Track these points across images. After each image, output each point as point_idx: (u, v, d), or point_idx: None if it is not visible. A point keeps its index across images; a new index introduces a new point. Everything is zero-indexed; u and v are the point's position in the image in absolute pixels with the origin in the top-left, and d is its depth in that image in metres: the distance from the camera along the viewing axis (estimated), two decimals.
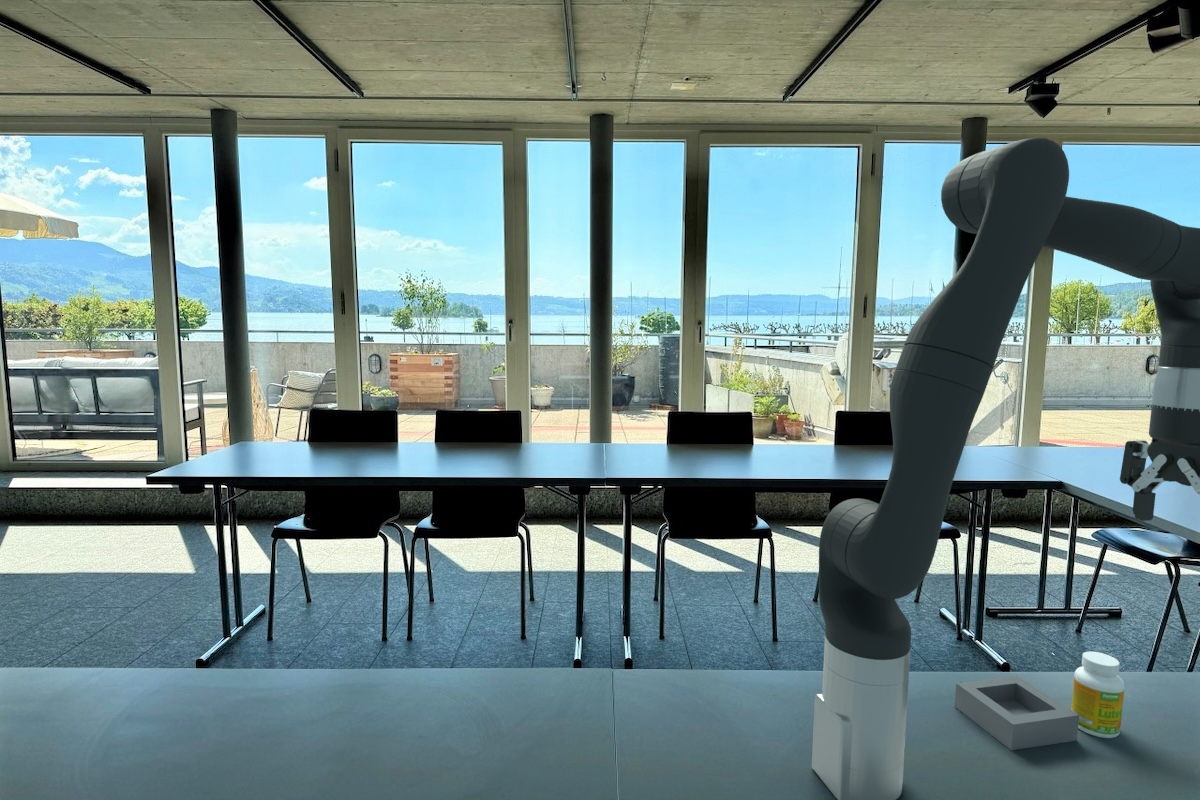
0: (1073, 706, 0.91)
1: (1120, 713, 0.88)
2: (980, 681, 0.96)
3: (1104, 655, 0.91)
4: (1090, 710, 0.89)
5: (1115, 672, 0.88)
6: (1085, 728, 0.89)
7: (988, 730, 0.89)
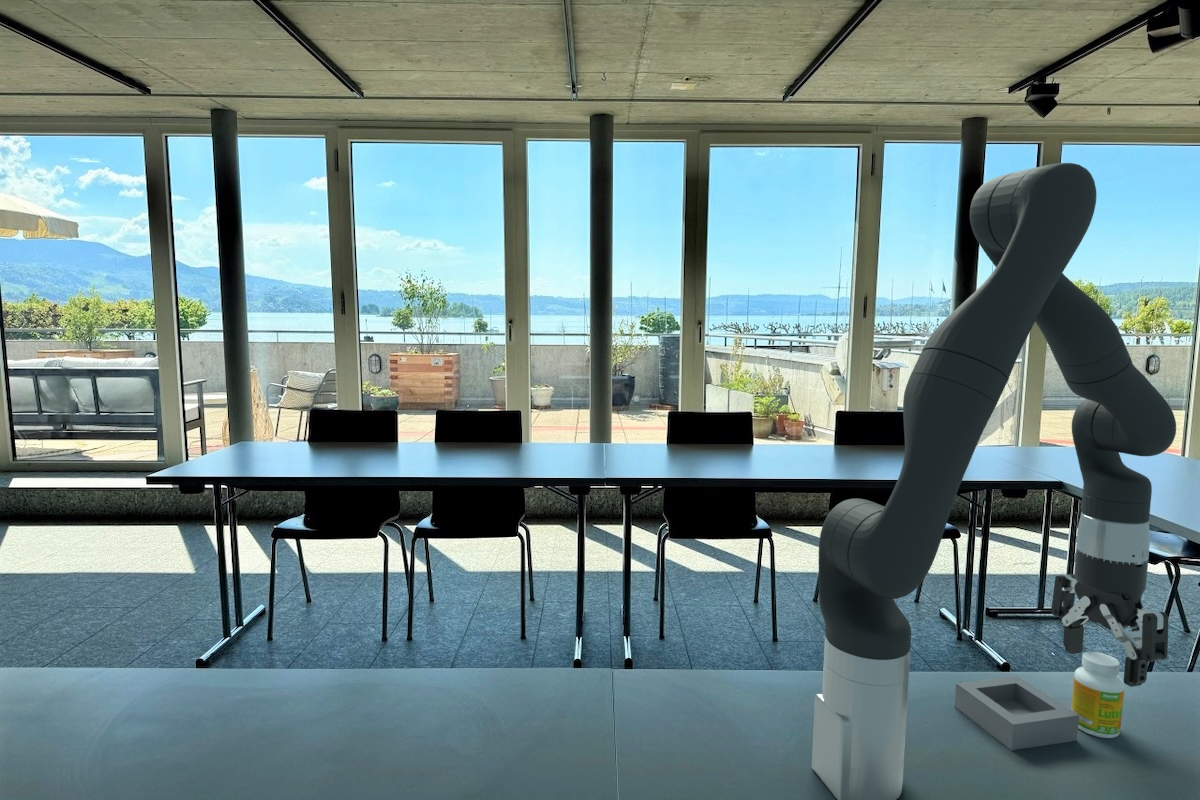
0: (1073, 706, 0.91)
1: (1120, 713, 0.88)
2: (980, 681, 0.96)
3: (1104, 655, 0.91)
4: (1090, 710, 0.89)
5: (1115, 672, 0.88)
6: (1085, 728, 0.89)
7: (988, 730, 0.89)
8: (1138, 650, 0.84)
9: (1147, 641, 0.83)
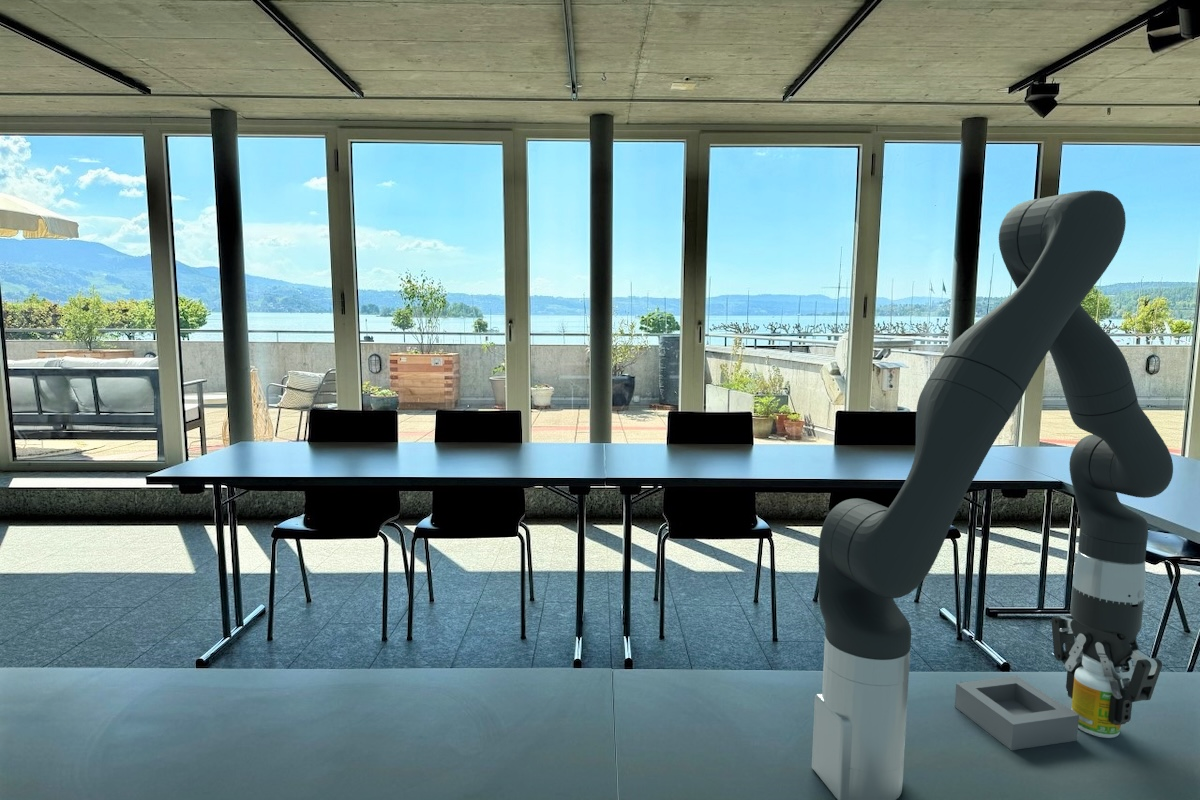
0: (1073, 706, 0.91)
1: None
2: (980, 681, 0.96)
3: None
4: (1090, 710, 0.89)
5: None
6: (1085, 728, 0.89)
7: (988, 730, 0.89)
8: (1122, 689, 0.86)
9: (1135, 684, 0.84)
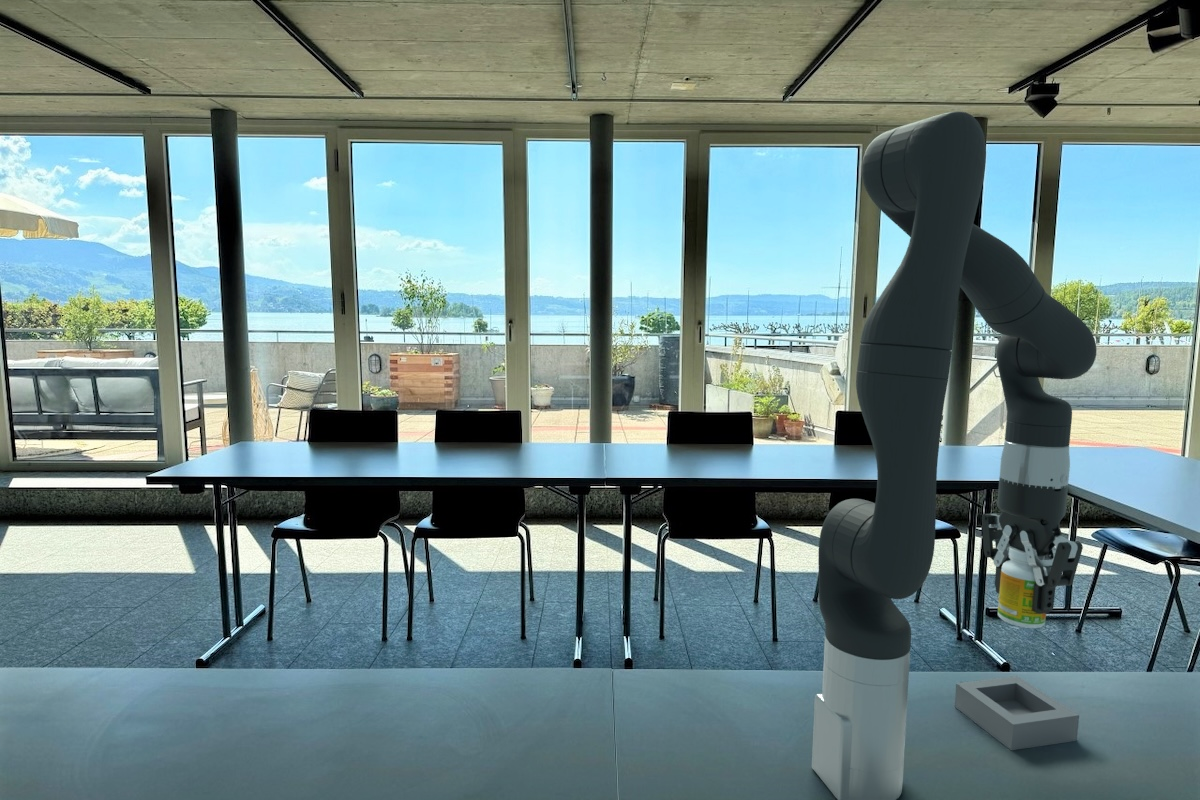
0: (999, 599, 0.90)
1: None
2: (980, 681, 0.96)
3: None
4: (1015, 601, 0.88)
5: None
6: (1010, 619, 0.88)
7: (988, 730, 0.89)
8: (1045, 576, 0.85)
9: (1056, 568, 0.83)
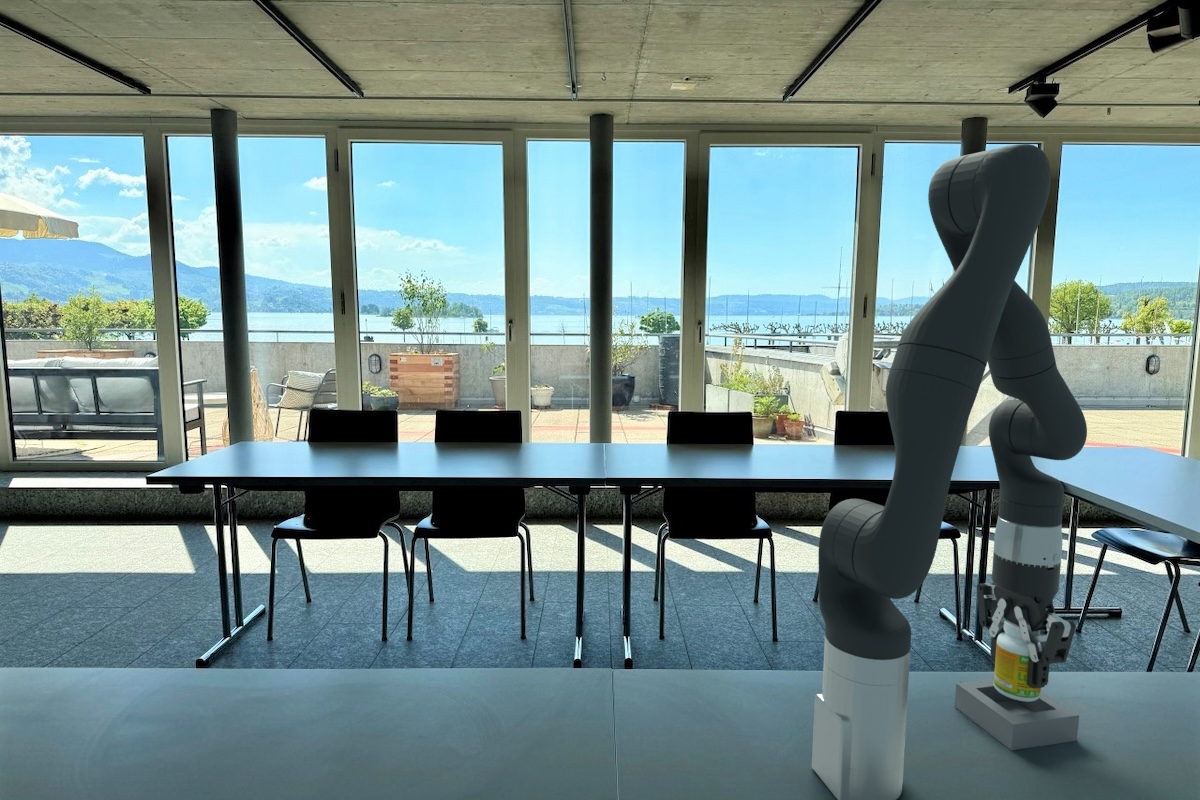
0: (995, 671, 0.92)
1: None
2: (980, 681, 0.96)
3: None
4: (1010, 674, 0.89)
5: None
6: (1006, 692, 0.90)
7: (988, 730, 0.89)
8: (1039, 653, 0.86)
9: (1050, 646, 0.84)
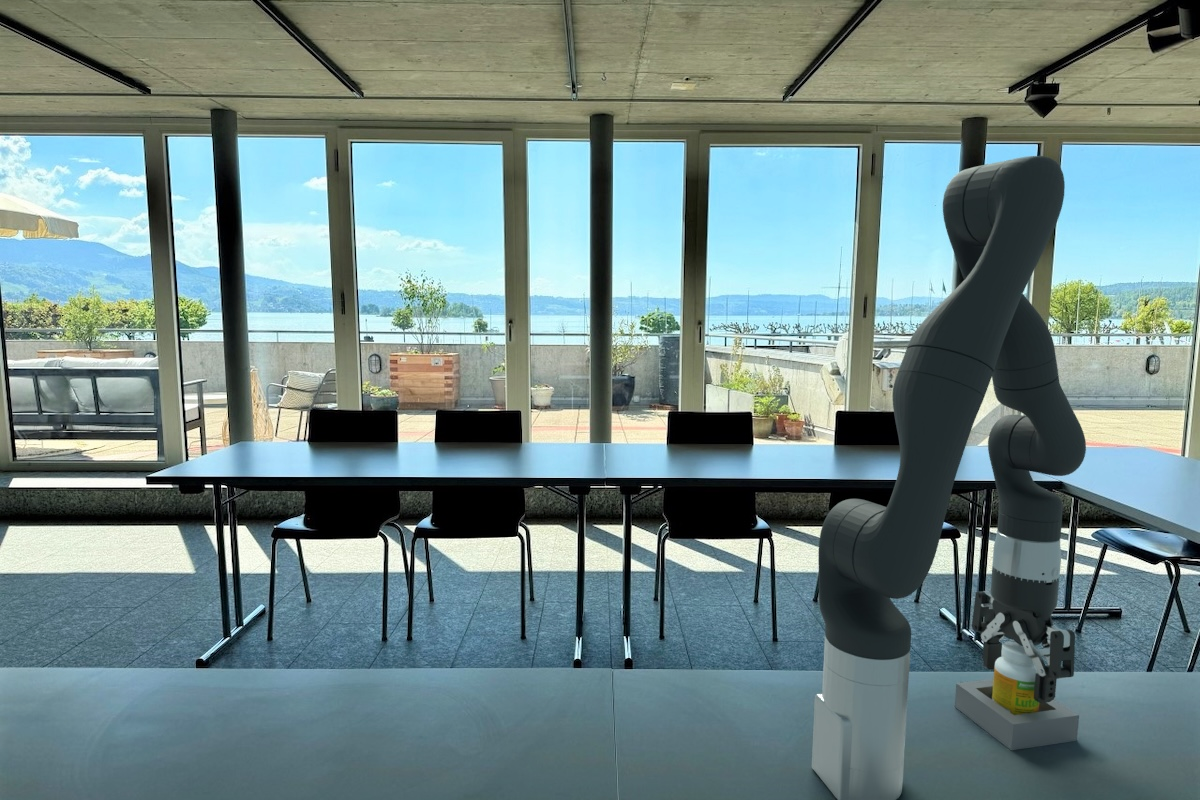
0: (993, 695, 0.92)
1: (1037, 702, 0.89)
2: (980, 681, 0.96)
3: None
4: (1008, 700, 0.89)
5: (1032, 661, 0.89)
6: None
7: (988, 730, 0.89)
8: (1046, 667, 0.85)
9: (1054, 658, 0.84)
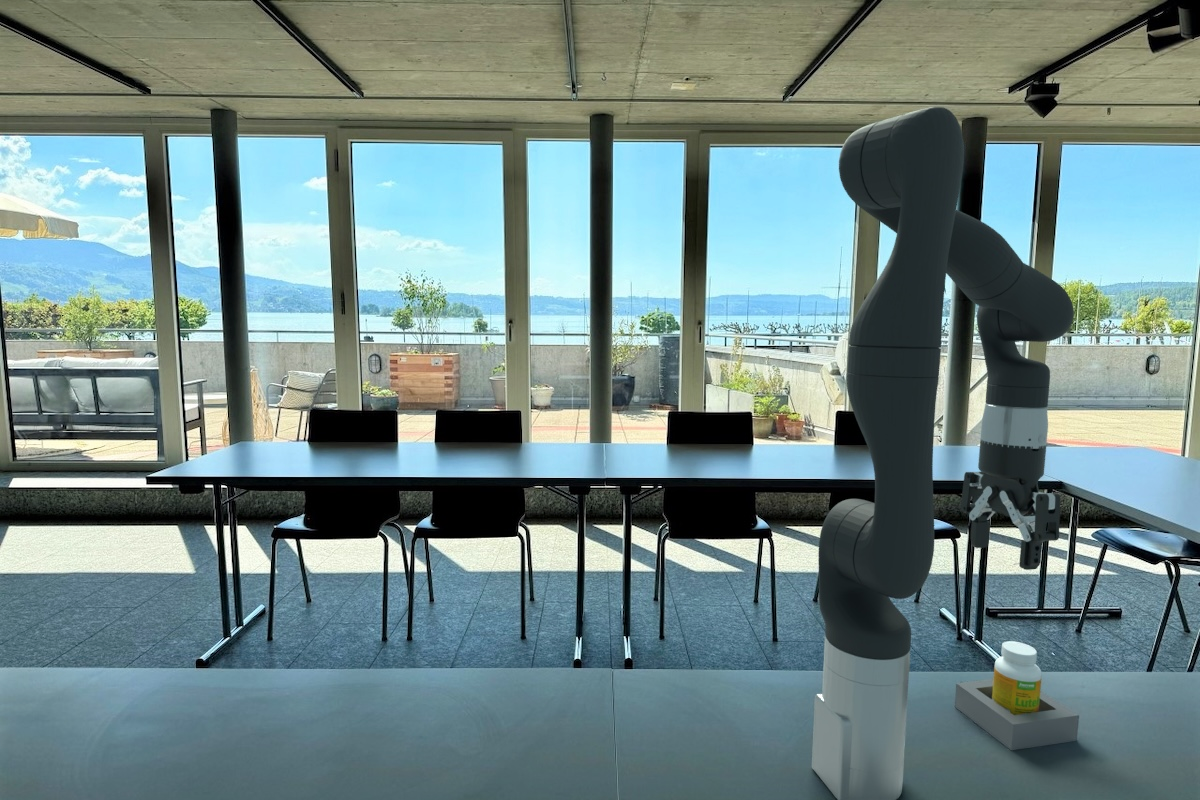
0: (993, 695, 0.92)
1: (1037, 702, 0.89)
2: (980, 681, 0.96)
3: (1023, 645, 0.91)
4: (1008, 700, 0.89)
5: (1031, 661, 0.89)
6: None
7: (988, 730, 0.89)
8: (1032, 532, 0.86)
9: (1039, 521, 0.84)
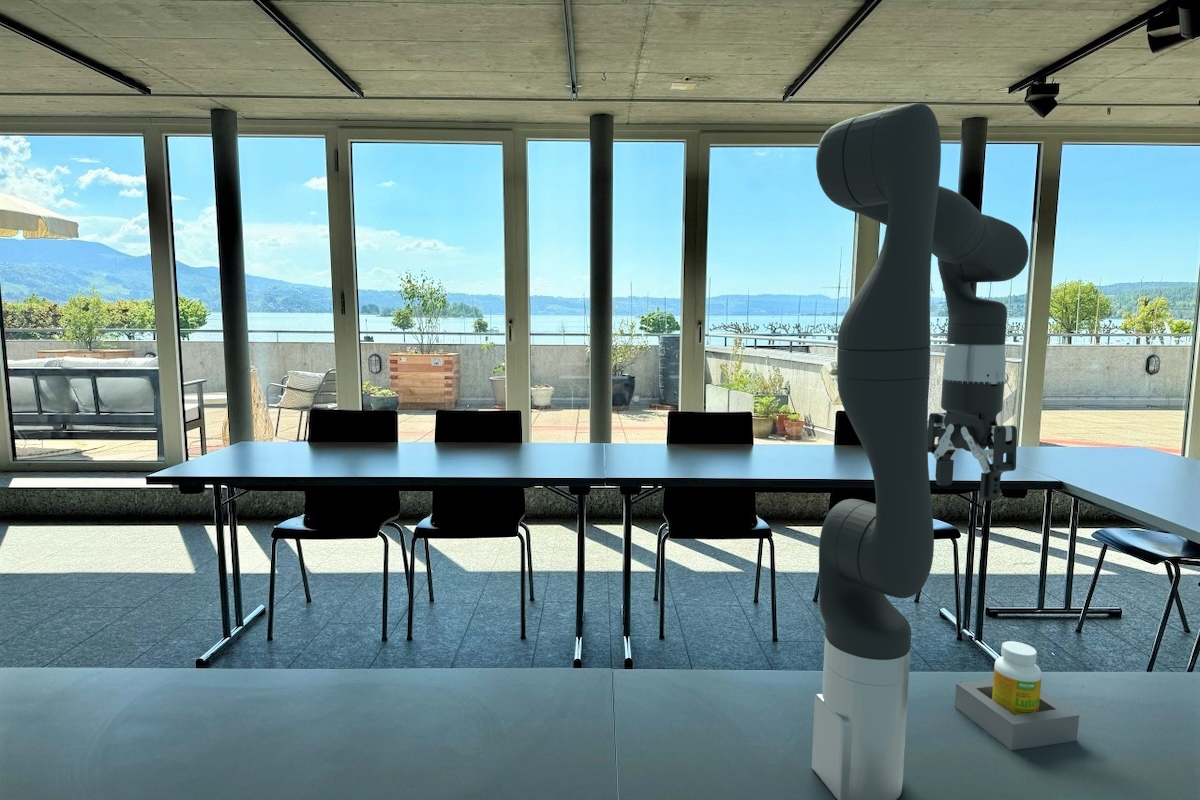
0: (993, 695, 0.92)
1: (1037, 702, 0.89)
2: (980, 681, 0.96)
3: (1023, 645, 0.91)
4: (1008, 700, 0.89)
5: (1031, 661, 0.89)
6: None
7: (988, 730, 0.89)
8: (991, 464, 0.90)
9: (997, 452, 0.88)
